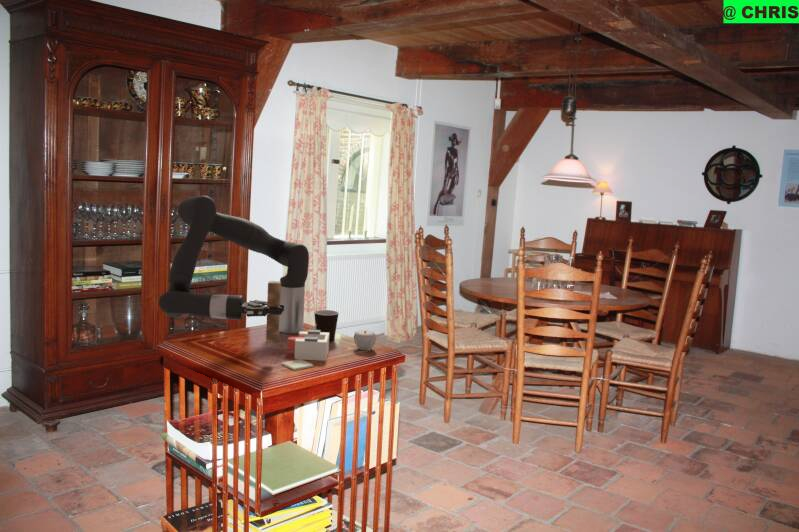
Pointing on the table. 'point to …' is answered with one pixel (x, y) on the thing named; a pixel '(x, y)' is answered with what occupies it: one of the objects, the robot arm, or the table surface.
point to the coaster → (297, 364)
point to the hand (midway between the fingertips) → (282, 309)
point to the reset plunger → (292, 342)
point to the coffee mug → (326, 322)
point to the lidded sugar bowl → (364, 339)
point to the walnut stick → (273, 319)
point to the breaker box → (312, 345)
